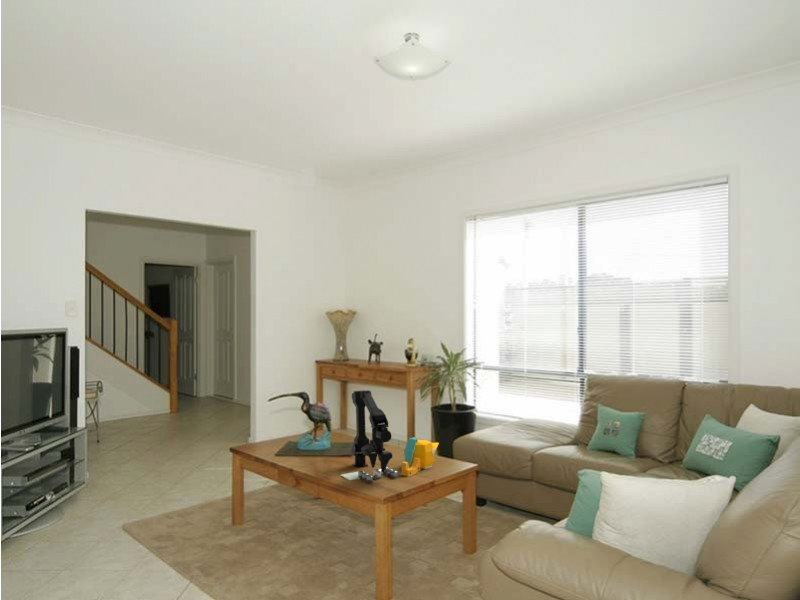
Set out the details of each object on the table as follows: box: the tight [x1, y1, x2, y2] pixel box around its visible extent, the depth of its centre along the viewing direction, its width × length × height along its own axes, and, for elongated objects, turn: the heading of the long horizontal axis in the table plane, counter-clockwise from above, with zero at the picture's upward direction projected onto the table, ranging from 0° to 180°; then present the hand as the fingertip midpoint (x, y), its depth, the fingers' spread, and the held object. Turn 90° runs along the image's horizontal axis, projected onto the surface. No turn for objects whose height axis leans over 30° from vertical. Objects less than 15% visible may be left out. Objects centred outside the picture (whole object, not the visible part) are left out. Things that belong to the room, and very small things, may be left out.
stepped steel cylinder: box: [372, 467, 383, 480], centre depth 276 cm, size 4×4×4 cm
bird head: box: [403, 437, 439, 470], centre depth 299 cm, size 14×26×16 cm, turn 137°
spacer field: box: [357, 466, 398, 484], centre depth 276 cm, size 11×17×3 cm, turn 122°
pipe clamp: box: [401, 458, 421, 477], centre depth 284 cm, size 12×4×6 cm, turn 141°
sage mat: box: [340, 471, 361, 482], centre depth 278 cm, size 10×10×1 cm
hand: (377, 469), depth 276 cm, fingers open, 9 cm apart
